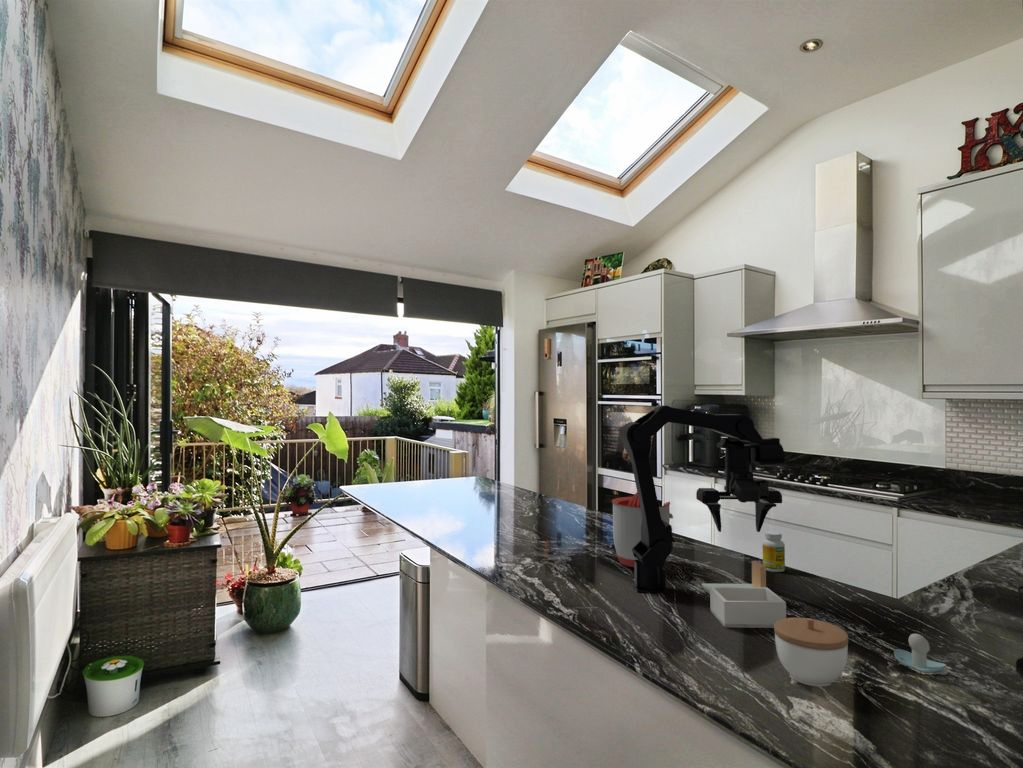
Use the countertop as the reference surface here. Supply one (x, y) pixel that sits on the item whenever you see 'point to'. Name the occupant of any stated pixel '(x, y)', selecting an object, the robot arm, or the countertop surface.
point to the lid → (757, 581)
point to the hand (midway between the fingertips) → (738, 531)
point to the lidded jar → (811, 650)
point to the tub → (746, 606)
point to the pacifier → (919, 656)
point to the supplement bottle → (773, 552)
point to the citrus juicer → (630, 526)
